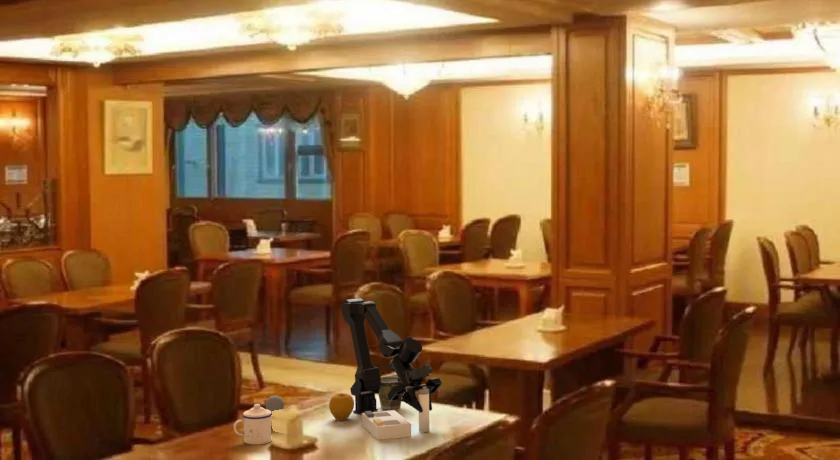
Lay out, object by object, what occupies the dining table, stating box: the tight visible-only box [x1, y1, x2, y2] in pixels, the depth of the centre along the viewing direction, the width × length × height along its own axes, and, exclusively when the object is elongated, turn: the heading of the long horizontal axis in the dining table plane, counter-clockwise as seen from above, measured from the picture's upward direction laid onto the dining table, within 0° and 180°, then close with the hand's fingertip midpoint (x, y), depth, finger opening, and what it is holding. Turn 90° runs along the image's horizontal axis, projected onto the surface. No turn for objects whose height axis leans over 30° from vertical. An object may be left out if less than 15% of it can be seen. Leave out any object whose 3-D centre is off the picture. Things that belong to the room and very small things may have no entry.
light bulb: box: [265, 395, 285, 412], centre depth 364 cm, size 6×6×10 cm
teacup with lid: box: [233, 403, 273, 446], centre depth 345 cm, size 12×9×12 cm
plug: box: [417, 388, 430, 433], centre depth 354 cm, size 4×4×14 cm
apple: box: [328, 392, 355, 421], centre depth 371 cm, size 8×8×9 cm
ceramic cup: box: [377, 375, 402, 410], centre depth 385 cm, size 13×10×10 cm
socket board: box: [361, 409, 412, 441], centre depth 356 cm, size 19×11×5 cm, turn 17°
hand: (426, 410), depth 353 cm, fingers closed on plug, 3 cm apart
